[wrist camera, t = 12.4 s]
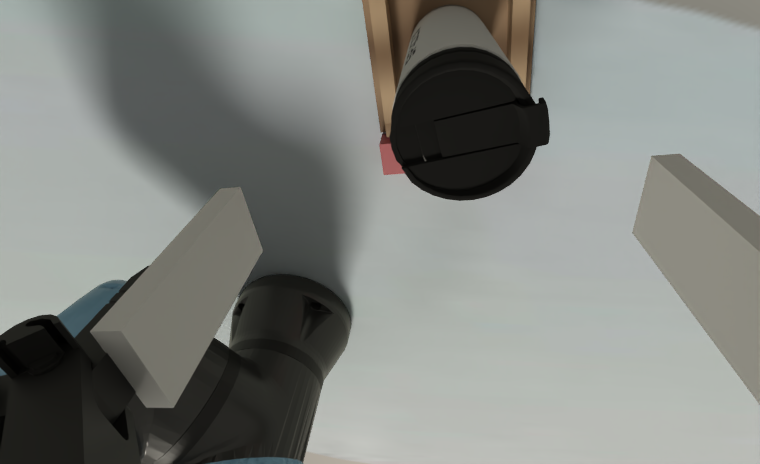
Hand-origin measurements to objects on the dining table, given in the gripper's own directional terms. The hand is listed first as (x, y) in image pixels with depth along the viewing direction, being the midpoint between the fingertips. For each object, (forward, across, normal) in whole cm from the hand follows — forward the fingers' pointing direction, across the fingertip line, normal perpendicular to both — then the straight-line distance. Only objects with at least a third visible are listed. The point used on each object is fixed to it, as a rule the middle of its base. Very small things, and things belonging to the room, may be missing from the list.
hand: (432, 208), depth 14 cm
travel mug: (+24, +2, +1) cm, 24 cm away
